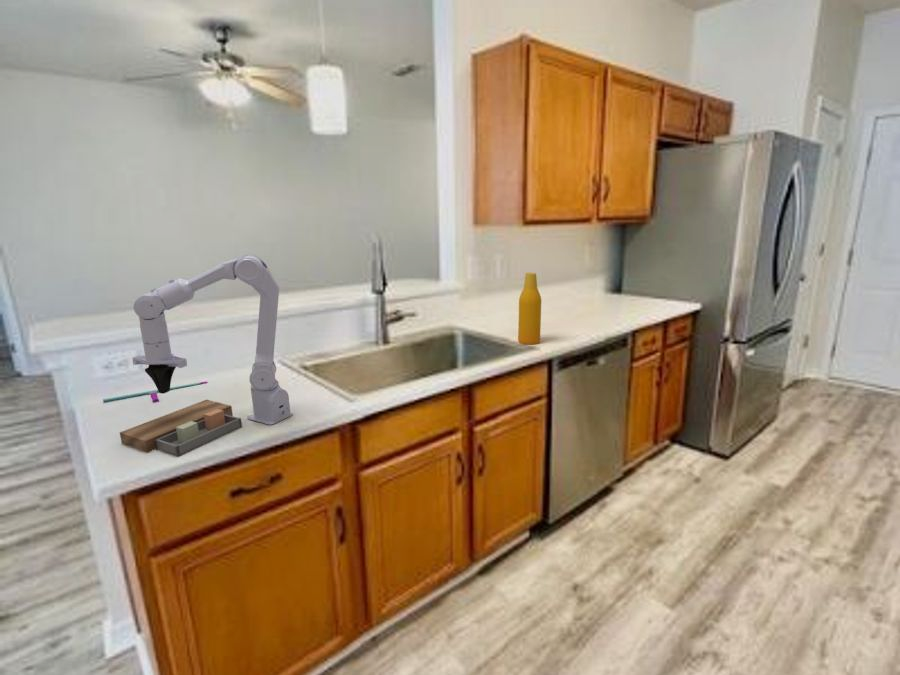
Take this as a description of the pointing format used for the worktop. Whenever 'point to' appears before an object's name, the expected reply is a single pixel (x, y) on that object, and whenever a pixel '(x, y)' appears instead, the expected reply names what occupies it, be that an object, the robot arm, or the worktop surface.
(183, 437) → the tile sage
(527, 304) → the beer bottle
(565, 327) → the worktop surface
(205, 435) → the tray
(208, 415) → the tile terracotta
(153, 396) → the squeegee
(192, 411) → the board
